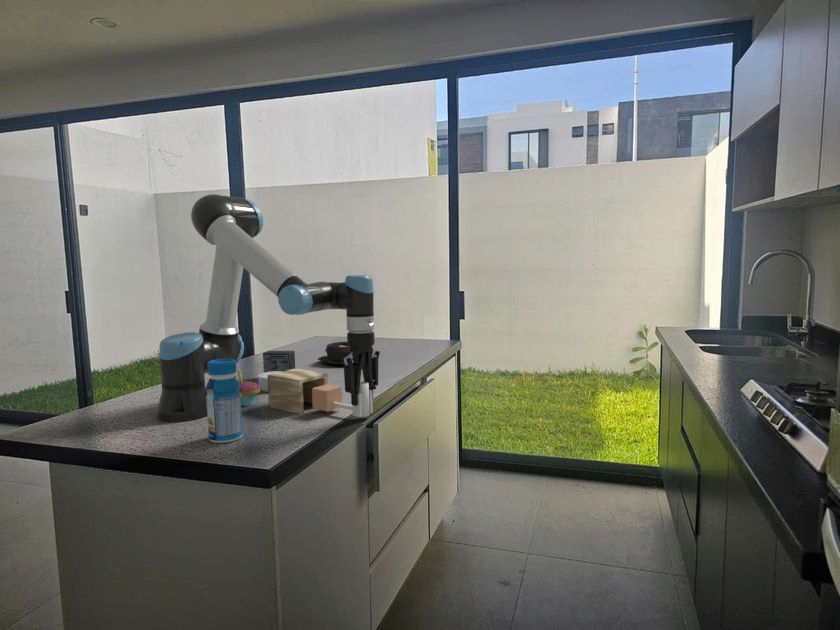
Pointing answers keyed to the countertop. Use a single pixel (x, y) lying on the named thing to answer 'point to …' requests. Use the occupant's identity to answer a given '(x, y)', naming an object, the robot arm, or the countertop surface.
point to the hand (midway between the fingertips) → (362, 413)
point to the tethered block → (338, 398)
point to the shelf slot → (293, 388)
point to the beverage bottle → (223, 402)
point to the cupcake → (248, 391)
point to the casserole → (336, 353)
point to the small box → (278, 360)
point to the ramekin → (265, 380)
